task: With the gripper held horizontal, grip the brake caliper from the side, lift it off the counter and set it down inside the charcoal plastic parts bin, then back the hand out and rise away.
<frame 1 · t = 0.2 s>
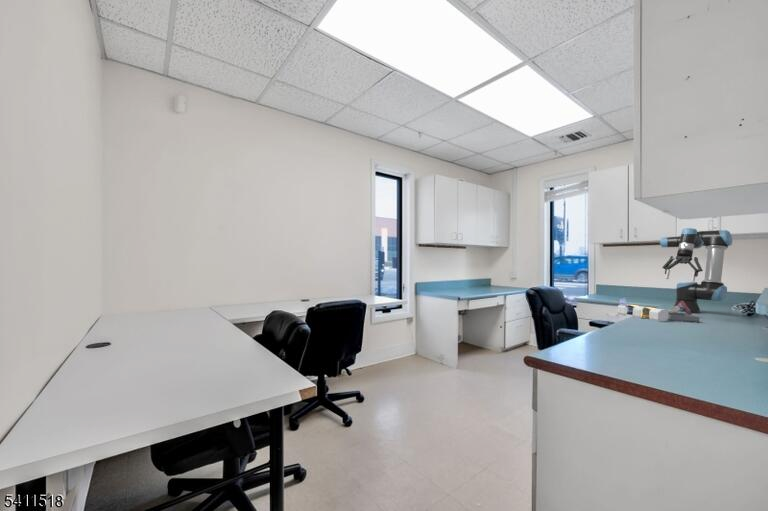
hand: (679, 279, 209), 26 cm above the counter, tool tilted 15°, fingers open, 13 cm apart
brake caliper: (680, 316, 220), on the counter
parts bin: (678, 319, 205), on the counter
segmented white rod: (641, 318, 209), on the counter
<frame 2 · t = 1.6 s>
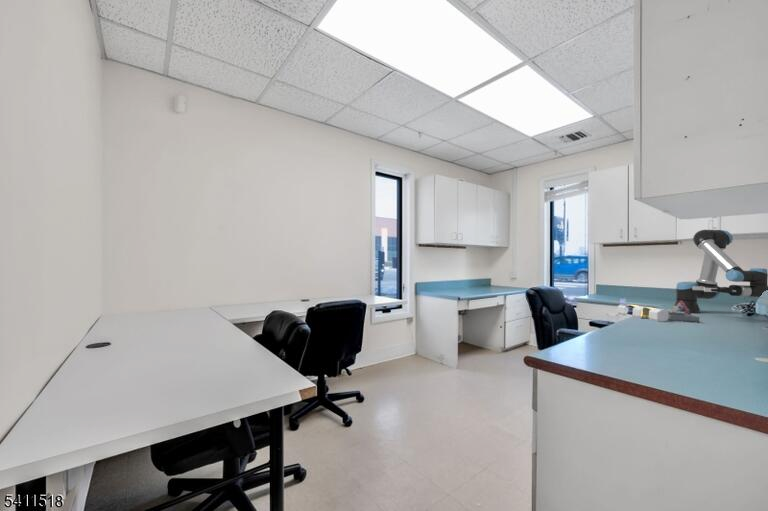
hand: (698, 288, 216), 20 cm above the counter, tool horizontal, fingers open, 13 cm apart
nothing on the counter moved.
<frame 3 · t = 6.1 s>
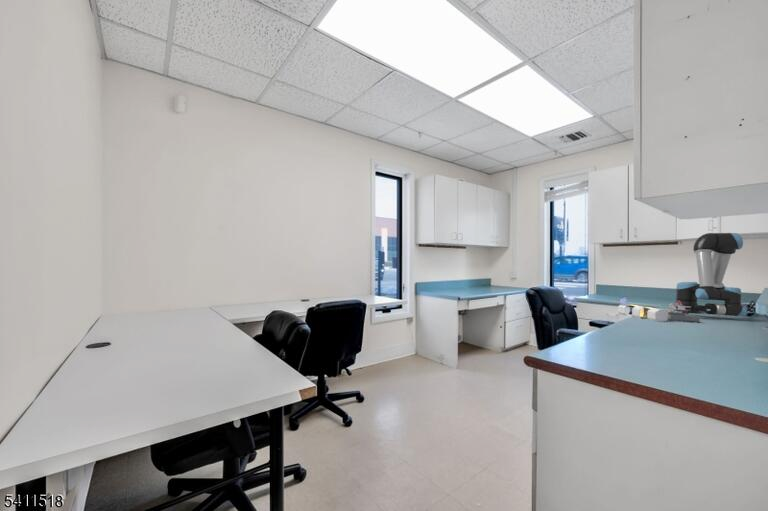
hand: (674, 306, 221), 6 cm above the counter, tool horizontal, fingers closed on brake caliper, 11 cm apart
brake caliper: (677, 316, 220), on the counter, touching gripper
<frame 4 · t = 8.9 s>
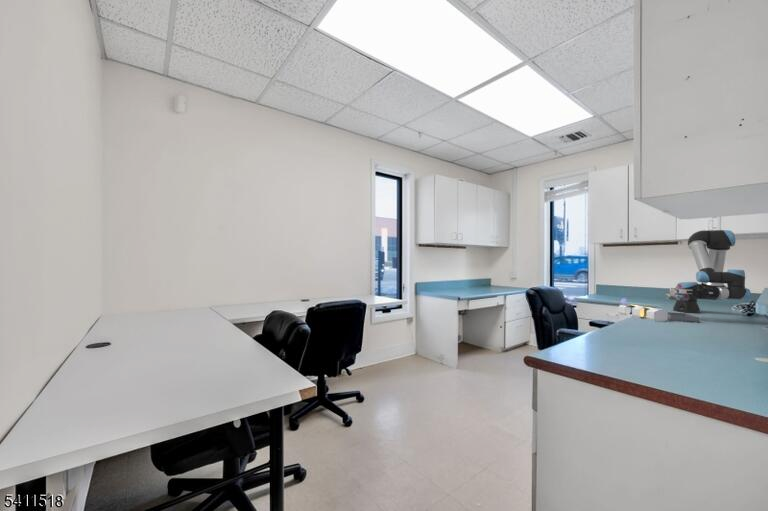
hand: (674, 290, 210), 19 cm above the counter, tool horizontal, fingers closed on brake caliper, 11 cm apart
brake caliper: (678, 300, 209), point 12 cm above the counter, touching gripper
when the fingers open (9 cm above the counter, at t = 11.7 s): brake caliper stays where it is, resting on parts bin.
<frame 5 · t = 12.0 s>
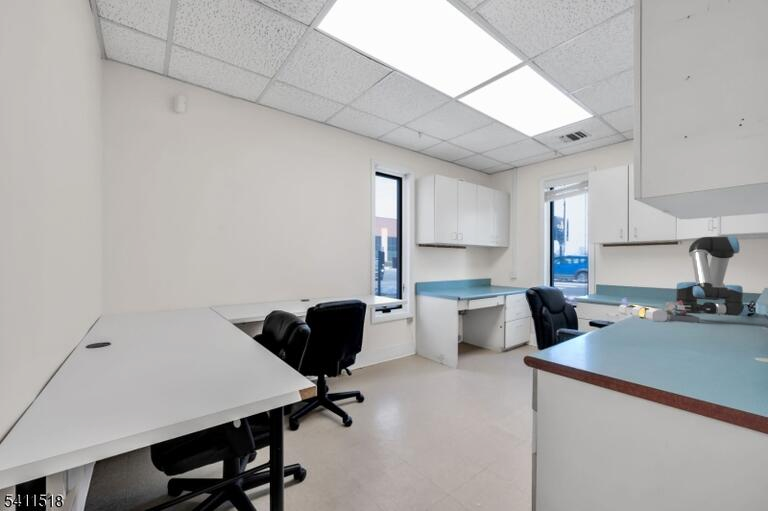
hand: (672, 305, 206), 9 cm above the counter, tool horizontal, fingers open, 13 cm apart
brake caliper: (674, 316, 206), point 2 cm above the counter, touching parts bin
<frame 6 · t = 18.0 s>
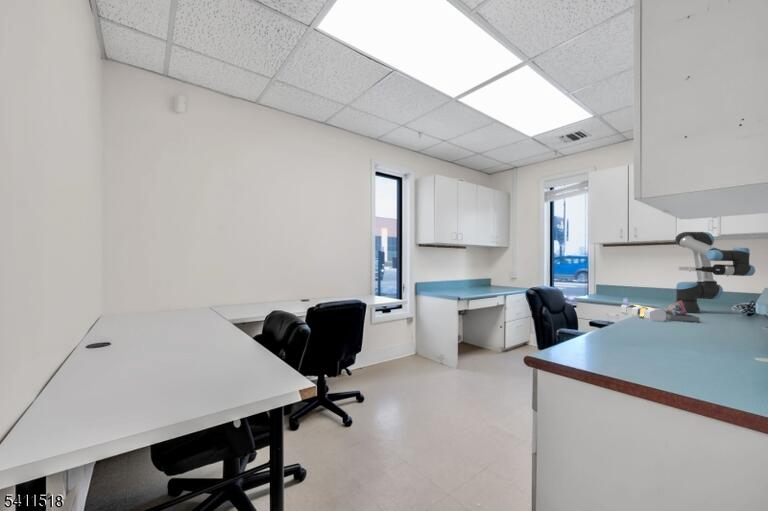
hand: (683, 268, 222), 34 cm above the counter, tool horizontal, fingers open, 13 cm apart
at the end: brake caliper inside the target area on the parts bin (2.2 cm from its centre), point 2.1 cm above the parts bin's base; the gripper is holding nothing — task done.
